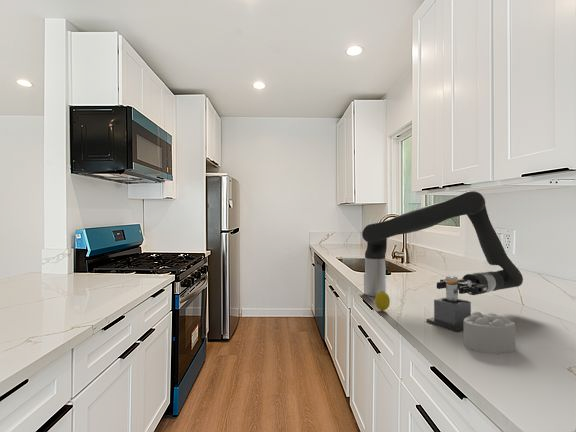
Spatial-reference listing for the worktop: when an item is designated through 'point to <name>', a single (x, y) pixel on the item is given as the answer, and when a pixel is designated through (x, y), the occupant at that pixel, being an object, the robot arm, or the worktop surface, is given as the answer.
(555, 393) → the worktop surface
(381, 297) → the lemon
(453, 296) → the silver copper-banded cylinder
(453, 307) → the dark grey open bin
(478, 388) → the worktop surface
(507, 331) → the lumpy-topped squat cylinder
